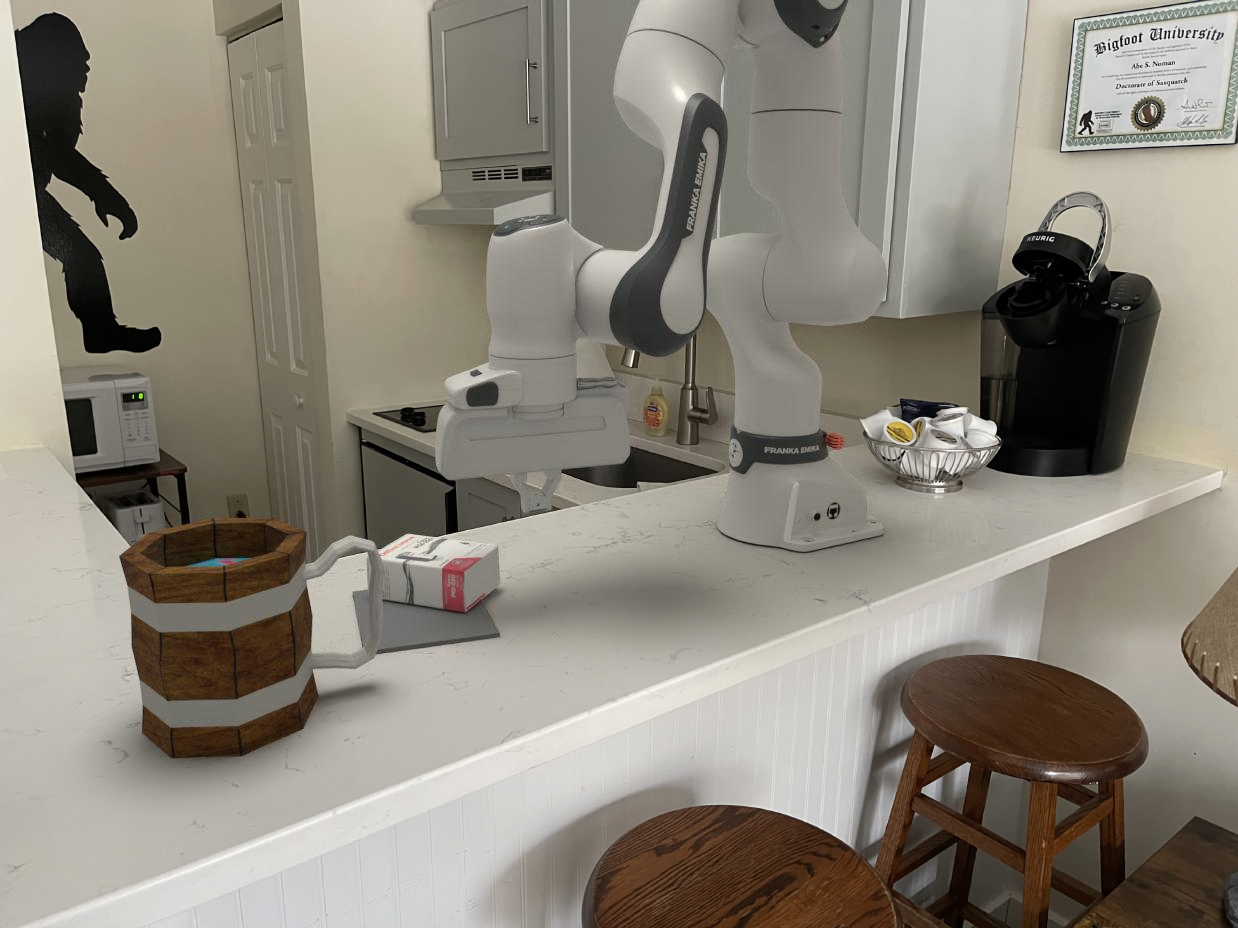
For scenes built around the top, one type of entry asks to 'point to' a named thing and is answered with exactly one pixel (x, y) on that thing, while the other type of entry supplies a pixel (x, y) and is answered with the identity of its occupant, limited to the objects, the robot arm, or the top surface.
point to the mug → (232, 632)
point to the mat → (423, 624)
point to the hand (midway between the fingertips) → (536, 510)
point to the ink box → (438, 572)
